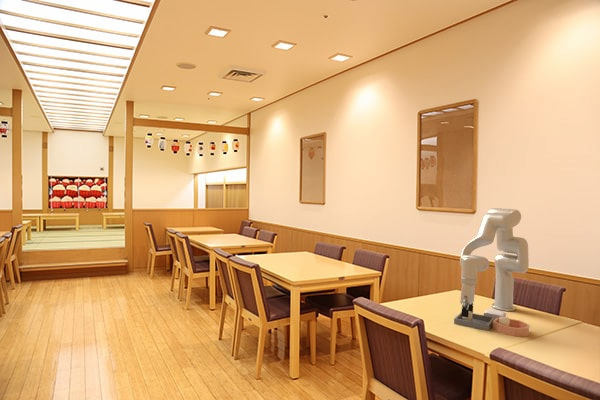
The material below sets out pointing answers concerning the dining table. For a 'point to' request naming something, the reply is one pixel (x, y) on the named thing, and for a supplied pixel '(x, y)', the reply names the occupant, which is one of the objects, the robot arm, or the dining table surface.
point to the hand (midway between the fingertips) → (467, 314)
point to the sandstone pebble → (468, 317)
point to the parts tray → (475, 321)
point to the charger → (494, 313)
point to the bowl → (512, 328)
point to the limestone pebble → (504, 321)
